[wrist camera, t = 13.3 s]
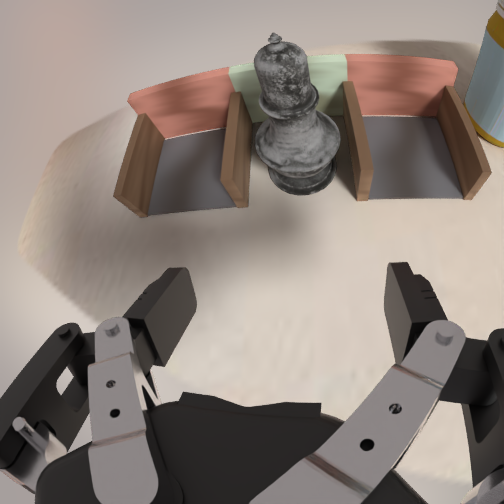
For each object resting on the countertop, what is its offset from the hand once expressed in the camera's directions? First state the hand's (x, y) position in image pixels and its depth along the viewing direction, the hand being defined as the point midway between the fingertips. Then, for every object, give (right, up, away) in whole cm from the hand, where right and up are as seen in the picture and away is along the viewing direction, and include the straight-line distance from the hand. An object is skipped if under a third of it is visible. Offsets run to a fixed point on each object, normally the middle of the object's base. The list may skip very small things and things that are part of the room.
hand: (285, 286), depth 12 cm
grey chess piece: (+3, +8, +11) cm, 14 cm away
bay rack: (+3, +9, +11) cm, 15 cm away
